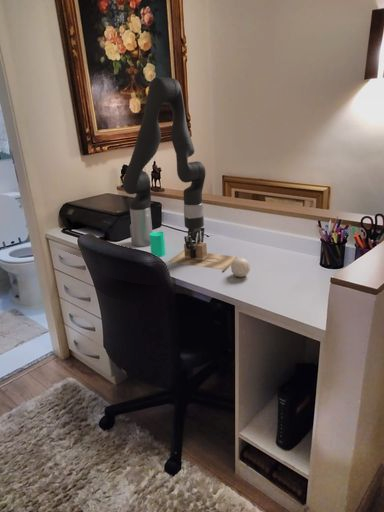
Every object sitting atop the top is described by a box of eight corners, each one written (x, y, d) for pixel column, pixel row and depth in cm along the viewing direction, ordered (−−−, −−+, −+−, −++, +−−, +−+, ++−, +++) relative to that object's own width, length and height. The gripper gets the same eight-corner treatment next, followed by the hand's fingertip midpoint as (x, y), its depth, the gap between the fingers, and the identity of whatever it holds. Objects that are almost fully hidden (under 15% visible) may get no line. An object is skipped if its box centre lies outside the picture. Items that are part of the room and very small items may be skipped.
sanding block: (184, 258, 155) (184, 244, 153) (189, 255, 158) (188, 241, 156) (202, 260, 151) (202, 246, 149) (206, 257, 155) (206, 243, 152)
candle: (168, 255, 163) (166, 228, 159) (161, 260, 158) (159, 232, 154) (156, 253, 166) (153, 227, 161) (148, 258, 161) (146, 231, 156)
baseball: (234, 281, 136) (234, 263, 133) (228, 273, 142) (228, 256, 140) (252, 279, 137) (253, 261, 134) (246, 271, 143) (246, 254, 141)
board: (168, 264, 153) (167, 261, 153) (184, 252, 165) (183, 250, 165) (223, 272, 143) (223, 269, 143) (236, 259, 155) (236, 256, 154)
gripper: (193, 209, 156) (195, 249, 162) (176, 218, 144) (179, 261, 150) (210, 211, 153) (211, 251, 159) (194, 220, 141) (196, 263, 147)
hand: (195, 255), depth 154 cm, fingers closed on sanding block, 4 cm apart
